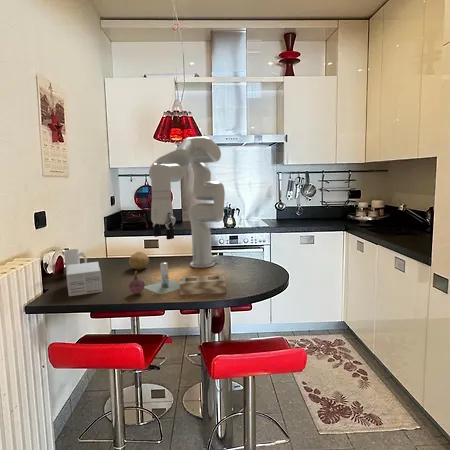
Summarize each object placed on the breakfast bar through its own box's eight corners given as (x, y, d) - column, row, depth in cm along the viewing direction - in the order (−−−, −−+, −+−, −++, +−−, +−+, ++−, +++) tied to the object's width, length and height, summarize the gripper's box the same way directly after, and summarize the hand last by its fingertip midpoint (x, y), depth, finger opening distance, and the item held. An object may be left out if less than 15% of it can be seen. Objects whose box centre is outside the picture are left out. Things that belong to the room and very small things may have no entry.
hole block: (223, 285, 158) (223, 274, 157) (226, 292, 149) (225, 280, 148) (180, 288, 156) (179, 277, 155) (180, 296, 147) (179, 283, 146)
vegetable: (127, 298, 147) (125, 272, 145) (131, 292, 153) (129, 268, 152) (143, 297, 147) (141, 272, 145) (146, 292, 153) (145, 268, 152)
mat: (170, 280, 168) (170, 279, 168) (188, 287, 158) (188, 286, 158) (141, 287, 159) (141, 287, 159) (159, 295, 149) (159, 294, 149)
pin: (166, 285, 160) (165, 262, 159) (170, 286, 158) (168, 263, 157) (160, 286, 159) (158, 263, 157) (164, 288, 156) (162, 264, 155)
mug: (64, 277, 180) (61, 252, 178) (68, 273, 186) (65, 249, 185) (86, 275, 181) (84, 251, 179) (89, 272, 188) (87, 248, 186)
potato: (127, 273, 183) (126, 257, 182) (131, 266, 197) (130, 251, 196) (148, 272, 184) (147, 256, 183) (150, 265, 198) (149, 250, 197)
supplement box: (68, 285, 167) (66, 264, 165) (100, 281, 172) (98, 261, 170) (68, 297, 151) (65, 274, 150) (102, 292, 156) (100, 270, 155)
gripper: (142, 195, 156) (145, 236, 158) (164, 196, 143) (167, 241, 145) (158, 194, 161) (160, 234, 163) (181, 195, 148) (183, 238, 150)
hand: (163, 237), depth 154 cm, fingers open, 9 cm apart
